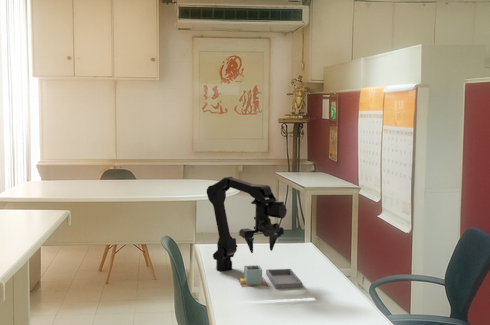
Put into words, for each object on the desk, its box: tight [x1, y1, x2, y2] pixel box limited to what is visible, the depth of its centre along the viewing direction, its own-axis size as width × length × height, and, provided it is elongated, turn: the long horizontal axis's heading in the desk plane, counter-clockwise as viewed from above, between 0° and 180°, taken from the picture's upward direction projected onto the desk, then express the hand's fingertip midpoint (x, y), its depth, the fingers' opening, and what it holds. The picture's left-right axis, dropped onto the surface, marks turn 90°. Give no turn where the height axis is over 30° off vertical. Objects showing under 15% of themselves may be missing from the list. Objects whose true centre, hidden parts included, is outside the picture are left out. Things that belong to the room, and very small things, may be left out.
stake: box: [237, 265, 269, 288], centre depth 205 cm, size 11×11×8 cm
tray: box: [265, 268, 304, 290], centre depth 208 cm, size 11×19×3 cm, turn 9°
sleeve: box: [239, 264, 263, 285], centre depth 205 cm, size 8×6×6 cm
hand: (261, 251), depth 210 cm, fingers open, 9 cm apart
